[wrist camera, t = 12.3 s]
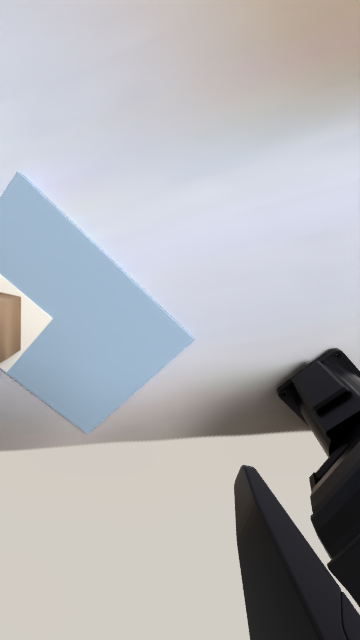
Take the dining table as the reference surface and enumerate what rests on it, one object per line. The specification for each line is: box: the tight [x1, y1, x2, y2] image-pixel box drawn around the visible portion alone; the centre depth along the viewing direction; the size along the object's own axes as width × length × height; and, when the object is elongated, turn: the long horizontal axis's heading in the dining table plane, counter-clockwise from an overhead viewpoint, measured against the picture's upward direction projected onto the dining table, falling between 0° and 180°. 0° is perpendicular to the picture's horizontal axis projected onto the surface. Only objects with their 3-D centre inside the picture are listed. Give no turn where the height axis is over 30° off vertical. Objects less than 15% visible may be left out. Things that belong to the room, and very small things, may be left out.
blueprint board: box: [0, 172, 194, 434], centre depth 21 cm, size 18×15×1 cm
